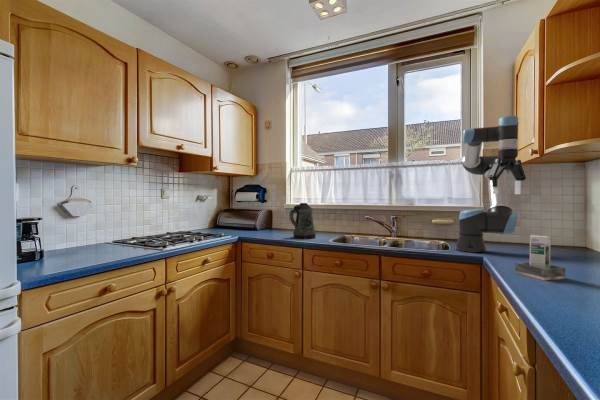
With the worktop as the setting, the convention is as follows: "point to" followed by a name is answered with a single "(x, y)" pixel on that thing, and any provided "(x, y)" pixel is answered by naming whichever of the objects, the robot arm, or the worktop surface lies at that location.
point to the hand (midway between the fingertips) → (507, 194)
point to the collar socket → (540, 271)
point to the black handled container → (303, 222)
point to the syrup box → (540, 251)
